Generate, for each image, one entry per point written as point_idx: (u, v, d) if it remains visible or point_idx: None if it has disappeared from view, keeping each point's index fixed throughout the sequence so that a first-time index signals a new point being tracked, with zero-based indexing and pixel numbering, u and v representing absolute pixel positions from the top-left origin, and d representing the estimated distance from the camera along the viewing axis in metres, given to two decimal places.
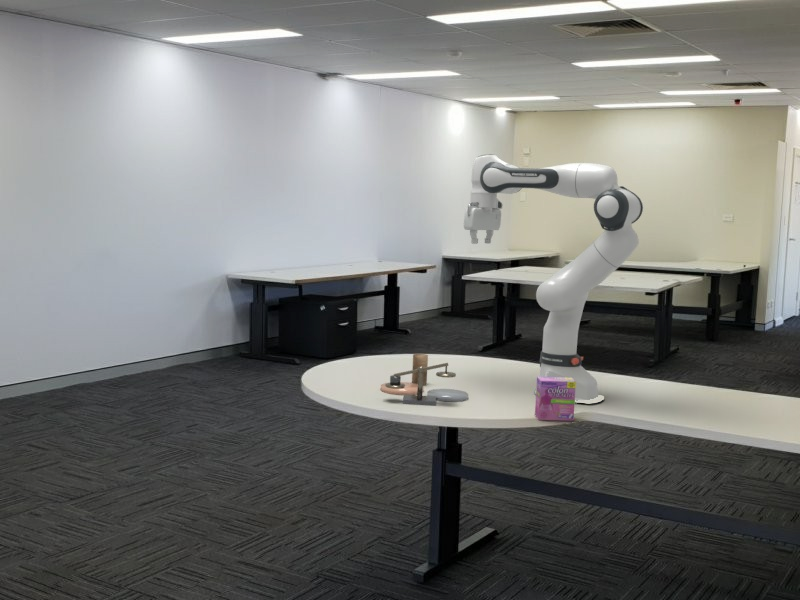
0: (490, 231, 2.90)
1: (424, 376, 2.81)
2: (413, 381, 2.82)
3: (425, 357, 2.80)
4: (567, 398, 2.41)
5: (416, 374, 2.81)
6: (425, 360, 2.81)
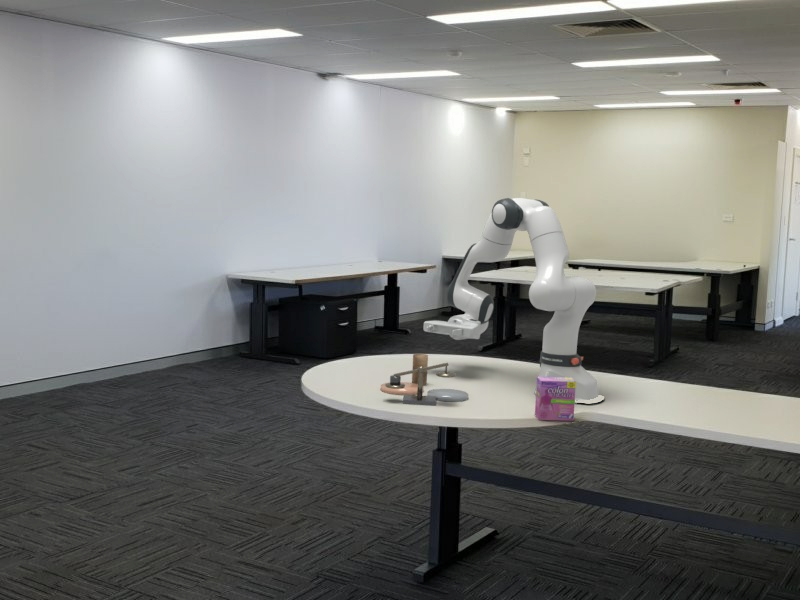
0: None
1: (424, 376, 2.81)
2: (413, 381, 2.82)
3: (425, 357, 2.80)
4: (567, 398, 2.41)
5: (416, 374, 2.81)
6: (425, 360, 2.81)
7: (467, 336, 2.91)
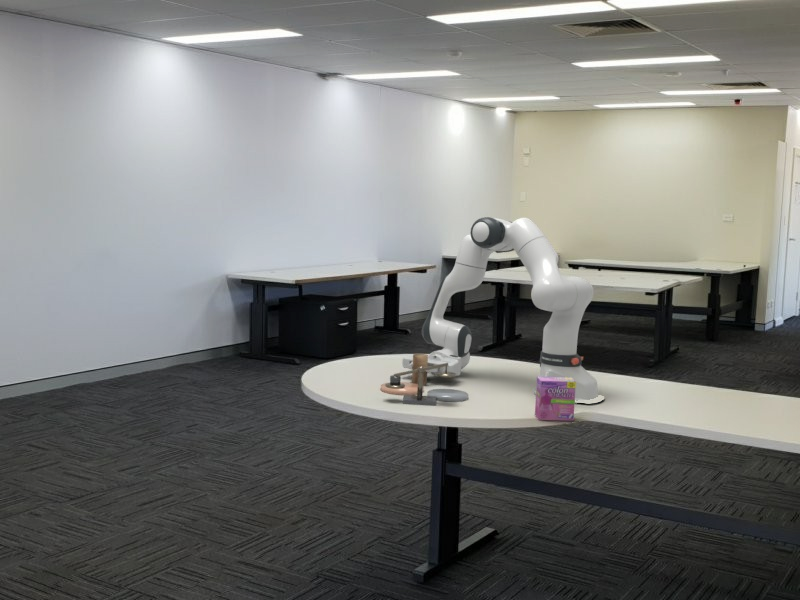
0: None
1: (424, 376, 2.81)
2: (413, 381, 2.82)
3: (425, 357, 2.80)
4: (567, 398, 2.41)
5: (416, 374, 2.81)
6: (425, 360, 2.81)
7: None
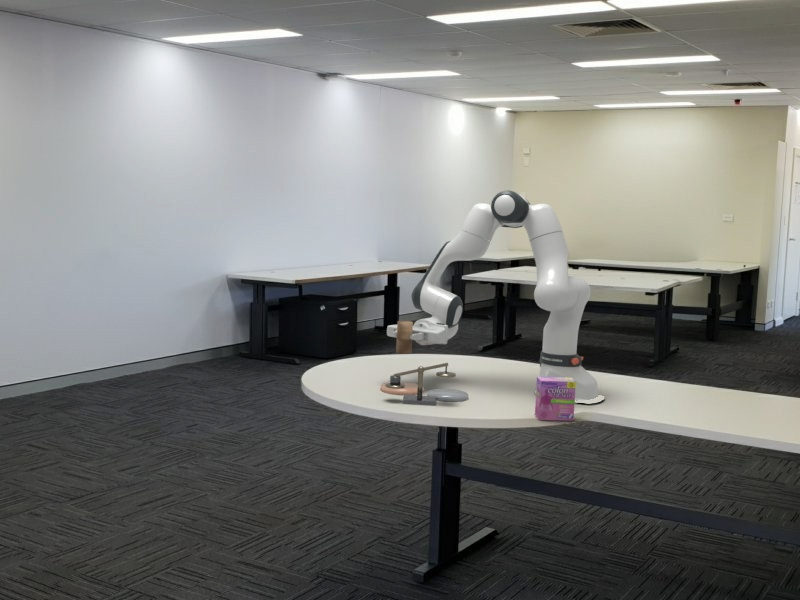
0: None
1: (409, 344, 2.69)
2: (397, 349, 2.70)
3: (410, 324, 2.69)
4: (567, 398, 2.41)
5: (400, 342, 2.69)
6: (410, 327, 2.69)
7: (432, 341, 2.70)
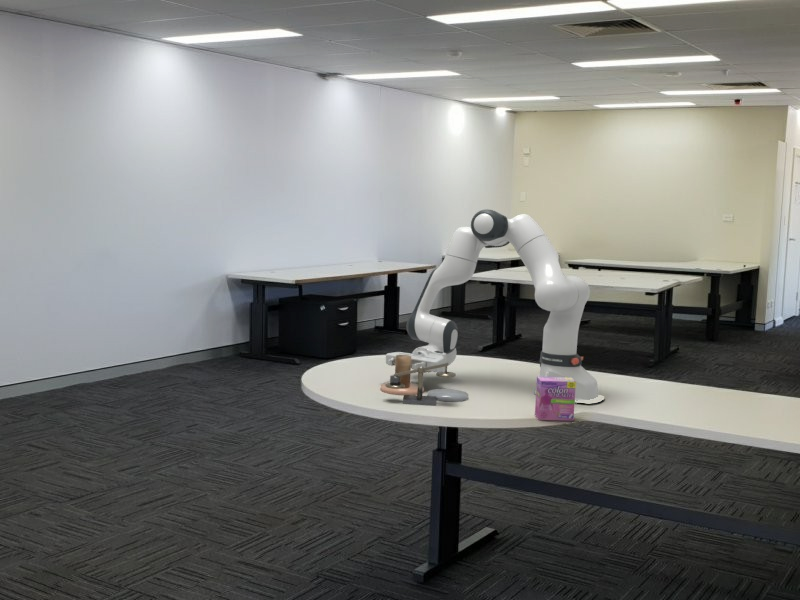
0: None
1: (407, 378, 2.71)
2: None
3: (408, 358, 2.70)
4: (567, 398, 2.41)
5: None
6: (408, 361, 2.70)
7: (431, 370, 2.71)
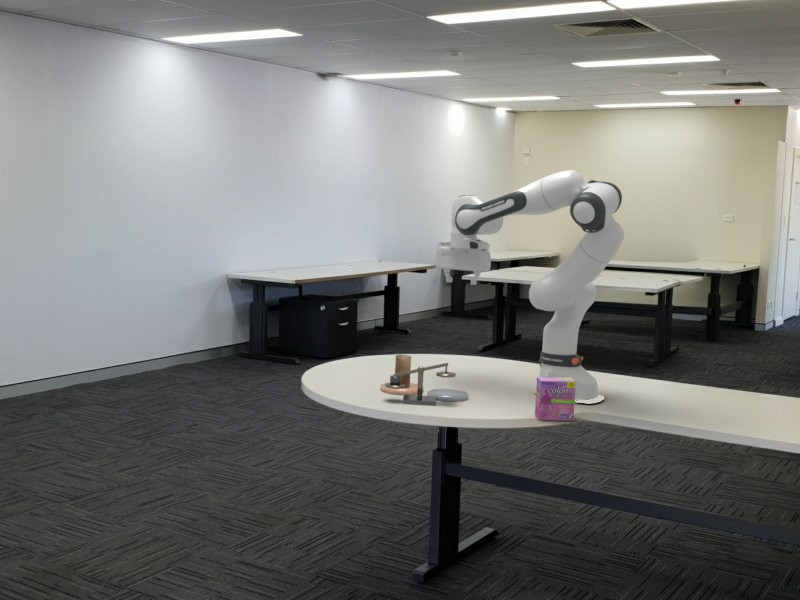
0: None
1: (407, 378, 2.71)
2: None
3: (408, 358, 2.70)
4: (567, 398, 2.41)
5: None
6: (408, 361, 2.70)
7: None
